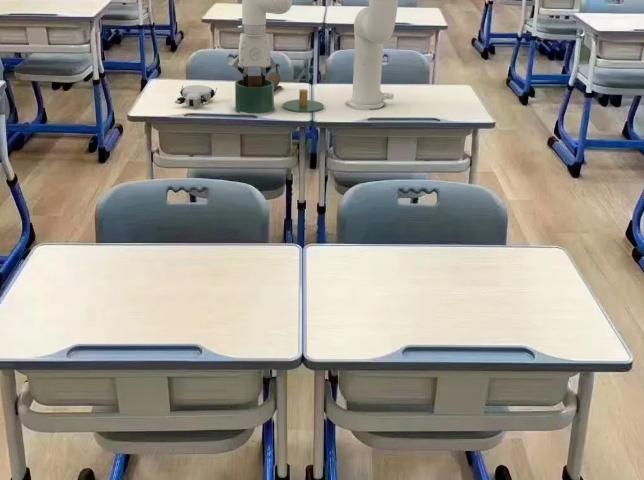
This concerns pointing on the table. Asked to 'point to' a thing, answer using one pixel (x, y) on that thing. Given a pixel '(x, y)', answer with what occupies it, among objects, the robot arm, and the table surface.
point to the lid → (303, 104)
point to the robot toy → (196, 95)
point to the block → (254, 80)
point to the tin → (254, 98)
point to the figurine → (275, 79)
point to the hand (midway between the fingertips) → (254, 86)
